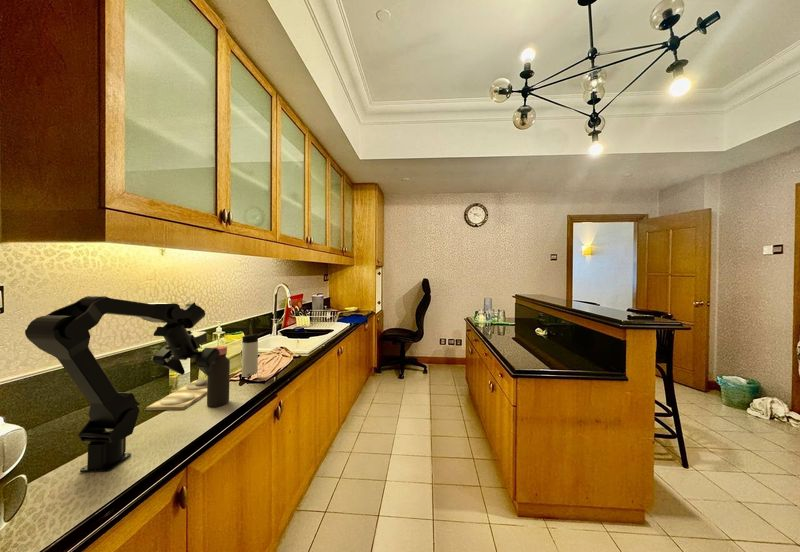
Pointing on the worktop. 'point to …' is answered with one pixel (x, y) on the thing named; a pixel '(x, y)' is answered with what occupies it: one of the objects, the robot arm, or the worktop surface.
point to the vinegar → (219, 380)
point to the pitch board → (182, 397)
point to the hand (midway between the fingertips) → (196, 374)
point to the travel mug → (249, 355)
